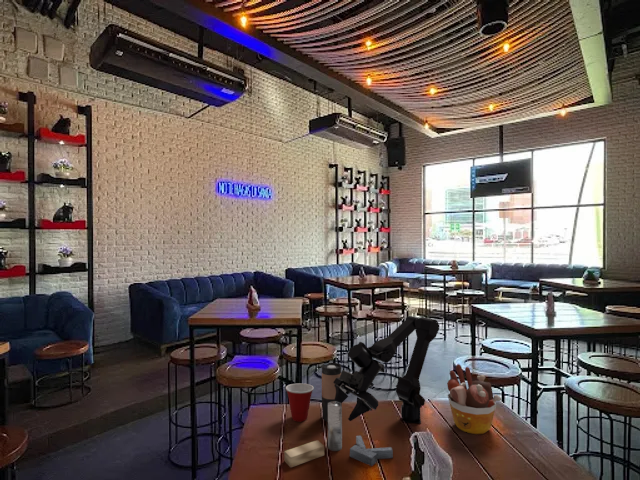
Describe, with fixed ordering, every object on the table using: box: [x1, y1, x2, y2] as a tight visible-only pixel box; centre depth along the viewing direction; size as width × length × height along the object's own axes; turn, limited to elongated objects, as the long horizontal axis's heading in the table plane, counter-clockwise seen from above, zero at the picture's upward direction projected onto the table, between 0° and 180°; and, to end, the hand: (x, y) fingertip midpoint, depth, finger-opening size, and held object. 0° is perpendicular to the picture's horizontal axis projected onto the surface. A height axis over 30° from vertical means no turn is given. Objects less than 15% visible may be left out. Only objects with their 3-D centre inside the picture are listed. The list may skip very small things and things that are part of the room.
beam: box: [283, 439, 325, 468], centre depth 116 cm, size 12×4×3 cm, turn 123°
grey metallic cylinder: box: [327, 401, 343, 452], centre depth 122 cm, size 5×5×14 cm
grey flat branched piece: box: [349, 435, 394, 467], centre depth 118 cm, size 9×14×2 cm, turn 51°
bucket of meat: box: [446, 363, 502, 435], centre depth 136 cm, size 20×16×20 cm
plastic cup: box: [285, 383, 314, 423], centre depth 143 cm, size 11×11×12 cm
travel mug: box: [321, 362, 342, 423], centre depth 143 cm, size 8×8×20 cm
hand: (340, 414), depth 124 cm, fingers open, 9 cm apart
